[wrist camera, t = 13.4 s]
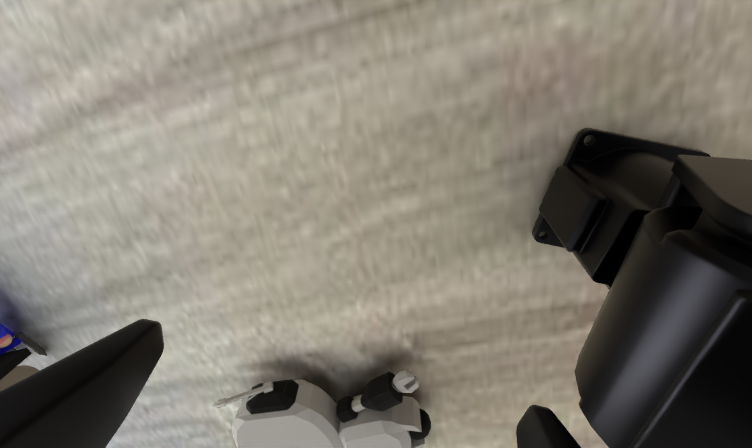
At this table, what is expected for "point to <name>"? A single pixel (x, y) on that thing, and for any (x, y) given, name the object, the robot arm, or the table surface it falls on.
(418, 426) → the robot toy
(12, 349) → the figurine character
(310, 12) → the table surface
